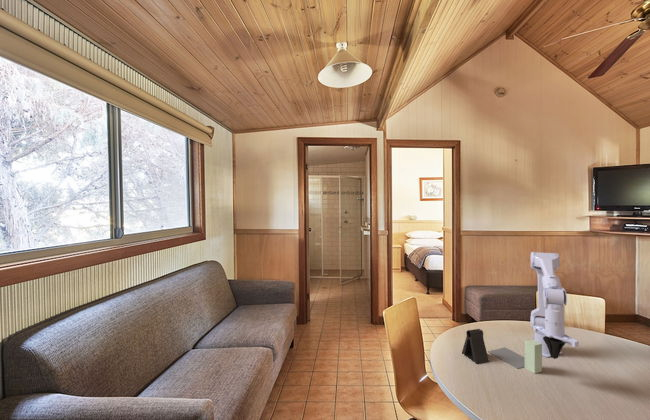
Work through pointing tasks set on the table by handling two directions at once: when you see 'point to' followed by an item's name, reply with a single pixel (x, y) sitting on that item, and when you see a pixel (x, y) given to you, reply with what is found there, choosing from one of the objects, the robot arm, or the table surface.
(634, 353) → the table surface
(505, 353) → the mat
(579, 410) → the table surface
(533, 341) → the sage block
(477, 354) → the phone stand
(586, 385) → the table surface
